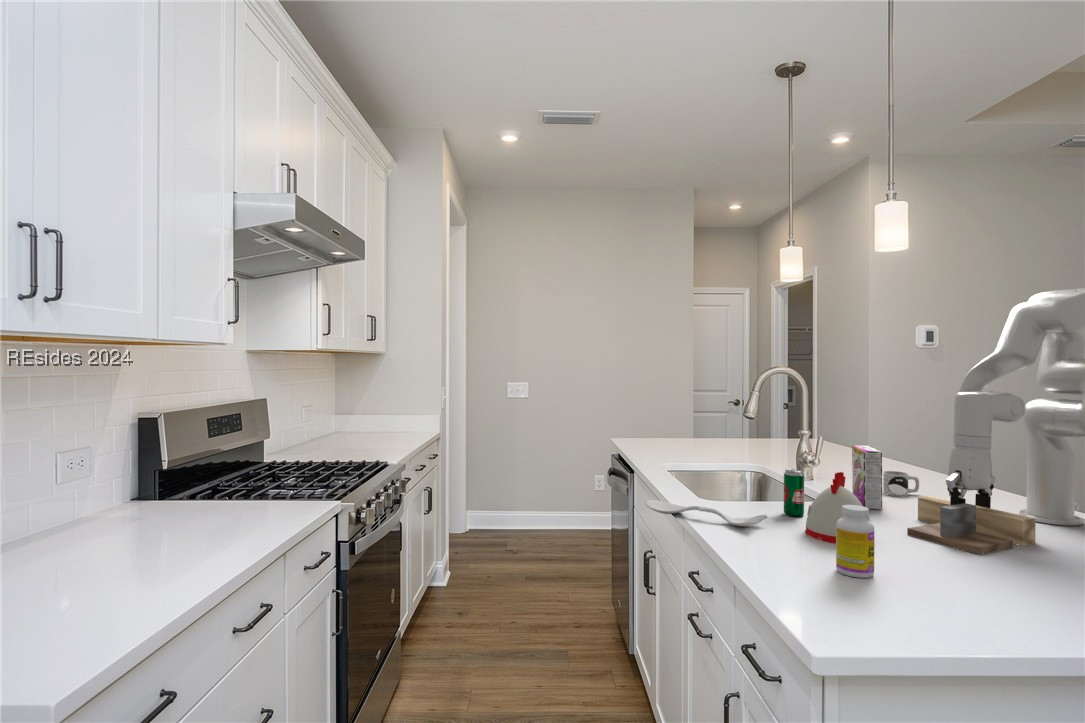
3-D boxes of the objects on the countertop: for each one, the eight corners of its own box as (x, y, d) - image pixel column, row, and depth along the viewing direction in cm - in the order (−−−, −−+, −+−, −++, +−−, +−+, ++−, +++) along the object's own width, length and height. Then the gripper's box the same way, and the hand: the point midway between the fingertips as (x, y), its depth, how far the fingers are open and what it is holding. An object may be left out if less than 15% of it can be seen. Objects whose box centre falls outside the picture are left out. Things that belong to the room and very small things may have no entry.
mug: (888, 496, 181) (888, 474, 181) (879, 491, 188) (879, 470, 188) (924, 497, 180) (924, 475, 180) (914, 492, 186) (914, 471, 186)
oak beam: (930, 518, 157) (930, 495, 157) (1035, 544, 135) (1035, 518, 135) (917, 520, 155) (917, 497, 155) (1022, 547, 133) (1022, 520, 133)
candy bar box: (851, 500, 176) (851, 445, 176) (869, 500, 175) (869, 445, 175) (863, 509, 165) (863, 450, 165) (883, 510, 164) (883, 451, 164)
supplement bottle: (873, 581, 112) (873, 513, 112) (834, 574, 115) (834, 508, 115) (875, 571, 117) (875, 506, 117) (838, 564, 121) (838, 501, 121)
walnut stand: (939, 528, 146) (940, 496, 146) (1012, 547, 132) (1013, 511, 132) (907, 534, 142) (907, 501, 142) (979, 554, 127) (979, 517, 127)
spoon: (754, 535, 142) (754, 521, 142) (639, 512, 163) (639, 500, 163) (768, 527, 149) (768, 513, 149) (655, 506, 170) (655, 494, 170)
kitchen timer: (878, 535, 141) (878, 472, 141) (861, 549, 131) (861, 481, 131) (817, 524, 151) (817, 465, 151) (797, 536, 140) (797, 473, 140)
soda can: (795, 518, 156) (795, 472, 156) (779, 514, 160) (779, 469, 160) (808, 516, 158) (808, 471, 158) (792, 511, 163) (792, 468, 163)
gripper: (977, 439, 152) (975, 506, 152) (933, 441, 145) (931, 511, 145) (1010, 443, 145) (1008, 513, 145) (965, 445, 138) (964, 519, 138)
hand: (970, 512), depth 145 cm, fingers open, 9 cm apart
